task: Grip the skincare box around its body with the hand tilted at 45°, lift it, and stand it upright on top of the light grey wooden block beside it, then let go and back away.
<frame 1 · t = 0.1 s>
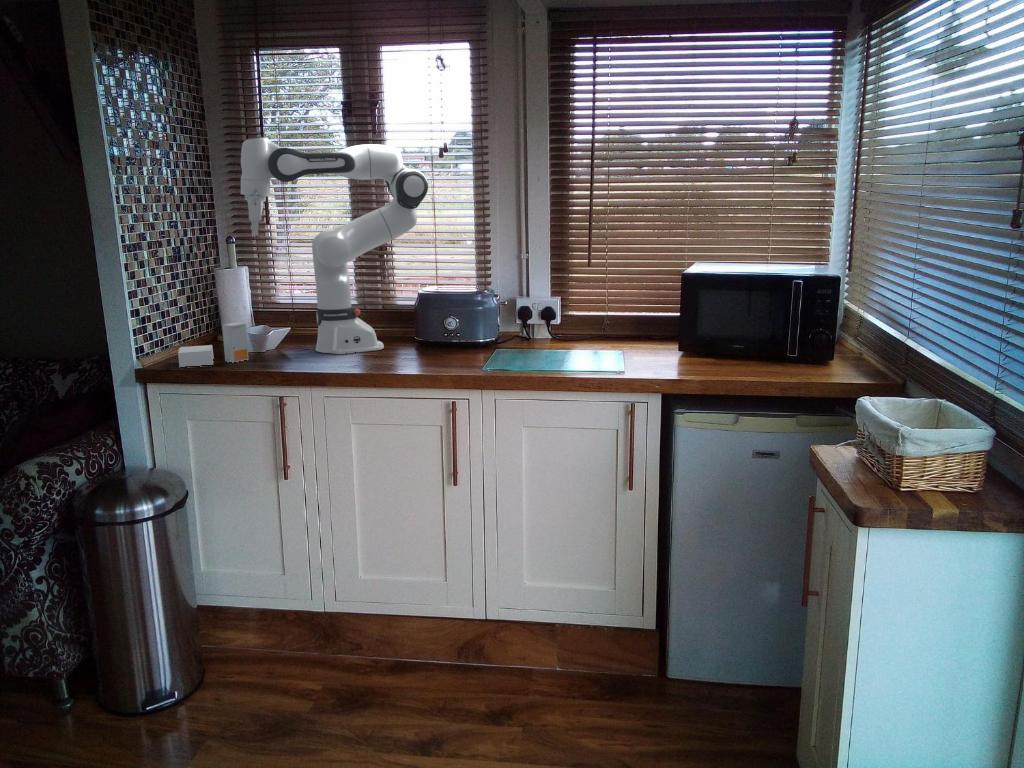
hand: (255, 234, 263), 39 cm above the countertop, tool pointing down, fingers open, 8 cm apart
skincare box: (237, 361, 263), on the countertop
grey block: (197, 364, 261), on the countertop
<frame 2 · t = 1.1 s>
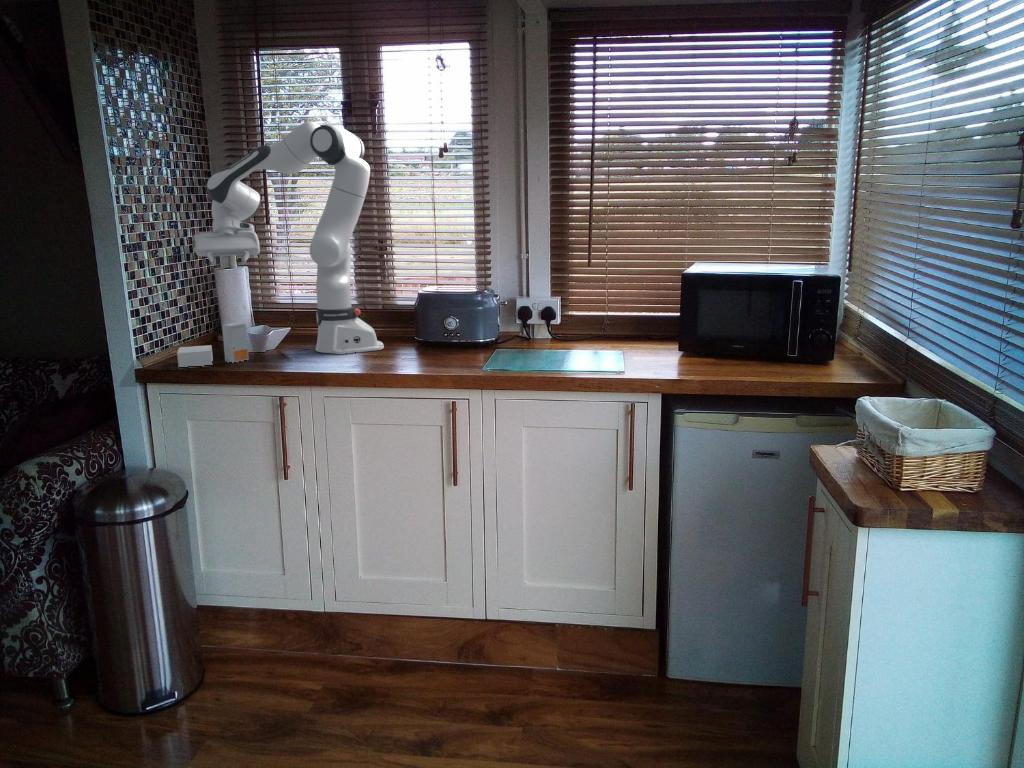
hand: (229, 263, 271), 29 cm above the countertop, tool tilted 45°, fingers open, 8 cm apart
nothing on the countertop moved.
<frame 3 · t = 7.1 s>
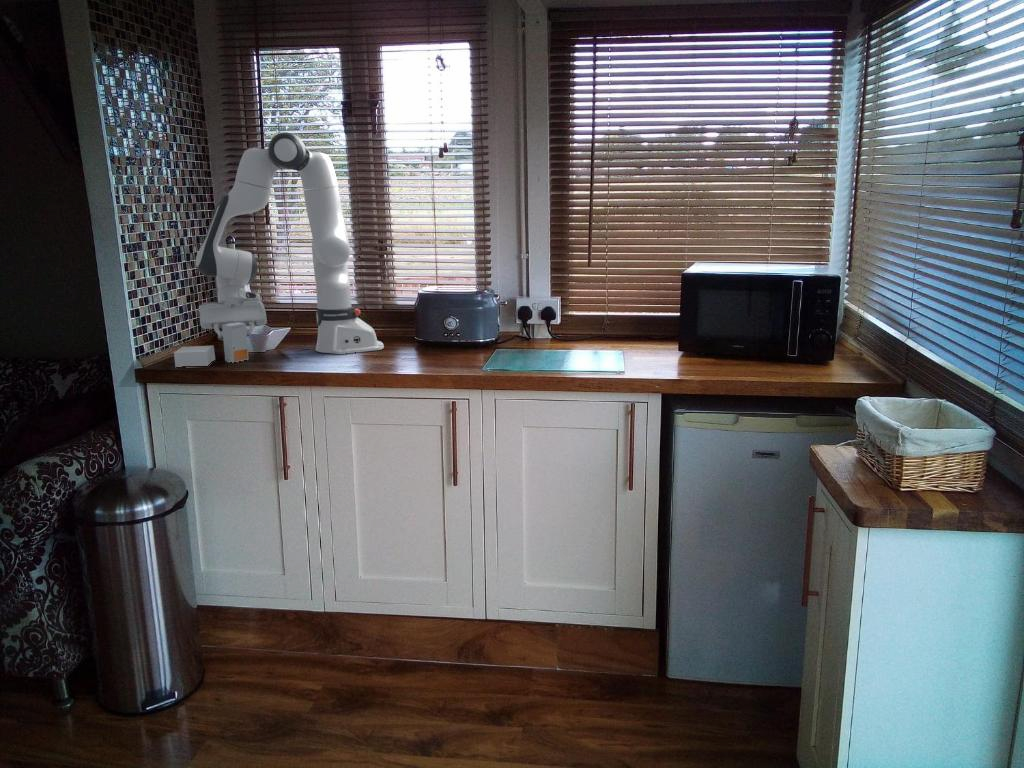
hand: (235, 336, 262), 8 cm above the countertop, tool tilted 45°, fingers closed on skincare box, 7 cm apart
skincare box: (237, 361, 263), on the countertop, touching gripper
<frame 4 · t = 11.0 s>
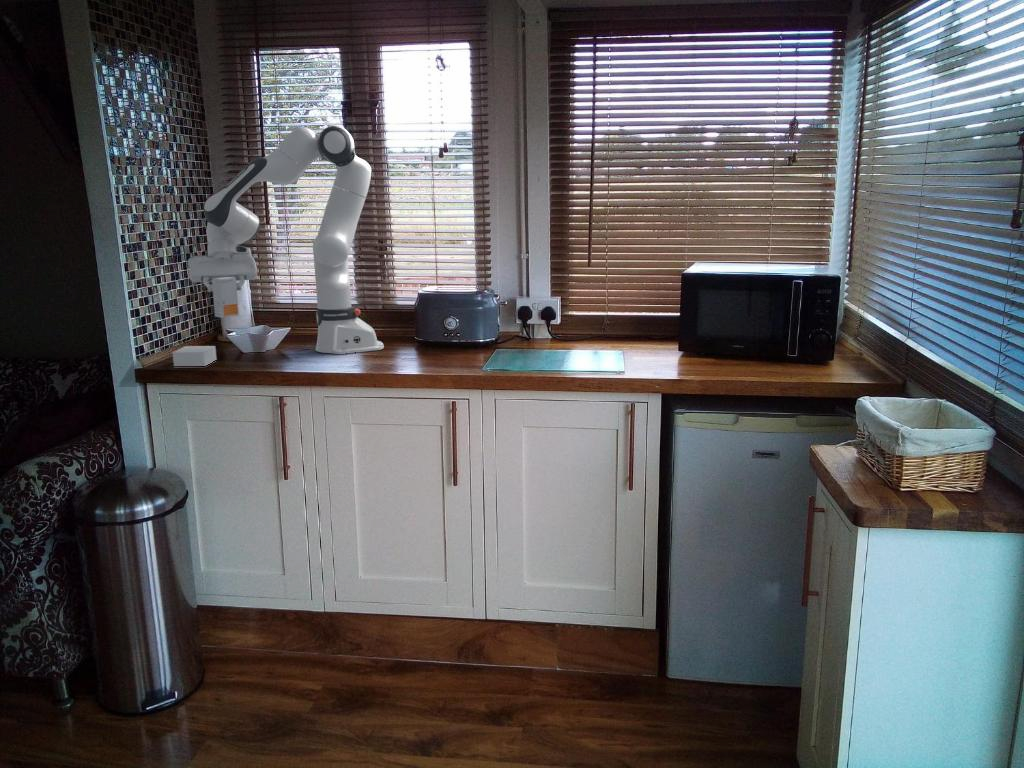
hand: (224, 289, 258), 23 cm above the countertop, tool tilted 45°, fingers closed on skincare box, 7 cm apart
skincare box: (227, 316, 260), point 14 cm above the countertop, touching gripper
when the fingers open (14 cm above the countertop, at t = 15.1 s): skincare box drops 1 cm, resting on grey block.
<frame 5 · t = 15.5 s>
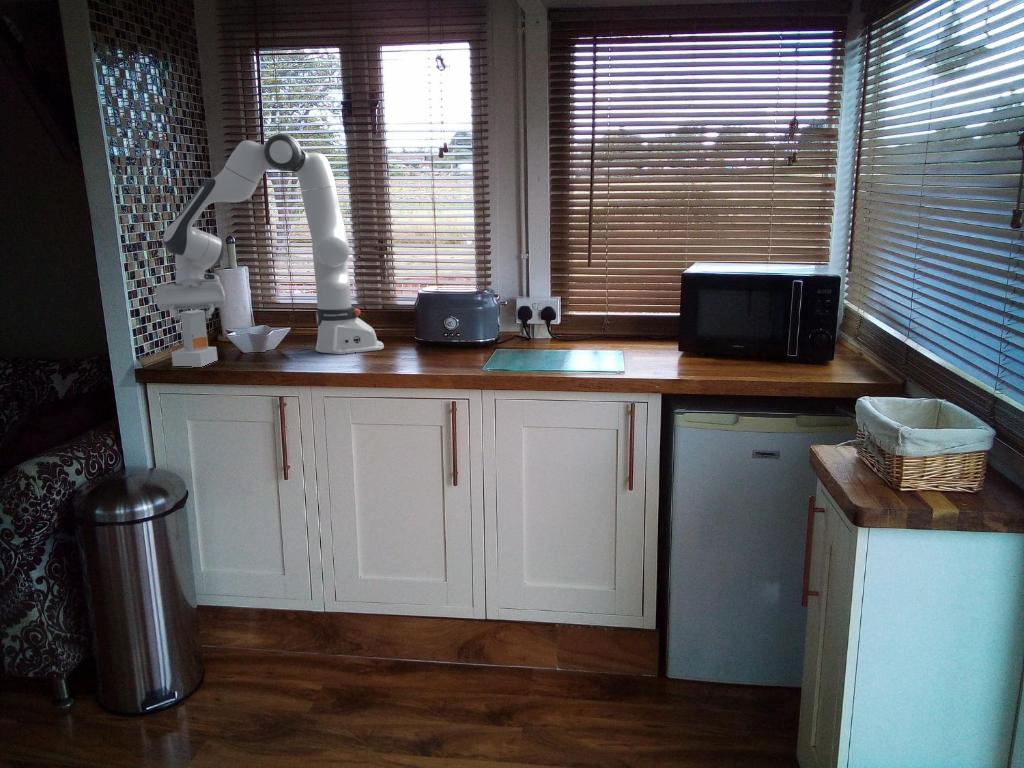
hand: (192, 318, 258), 14 cm above the countertop, tool tilted 45°, fingers open, 8 cm apart
skincare box: (196, 349, 260), point 4 cm above the countertop, touching grey block
grey block: (195, 365, 260), on the countertop, touching skincare box
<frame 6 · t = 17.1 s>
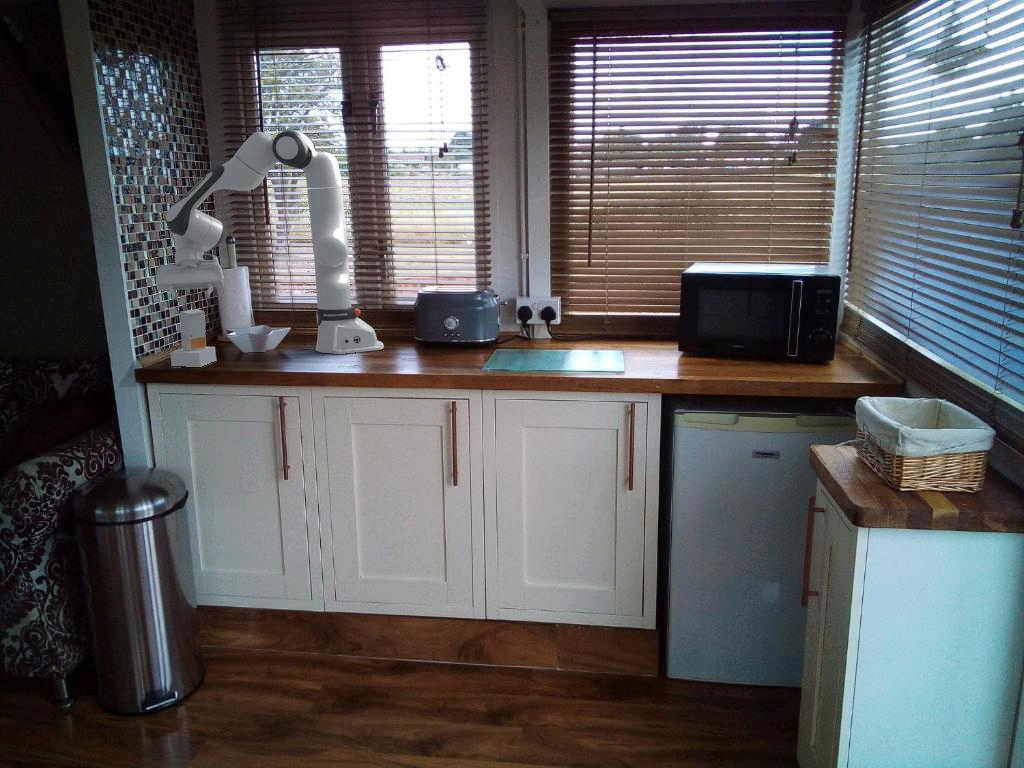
hand: (191, 297, 261), 20 cm above the countertop, tool tilted 45°, fingers open, 8 cm apart
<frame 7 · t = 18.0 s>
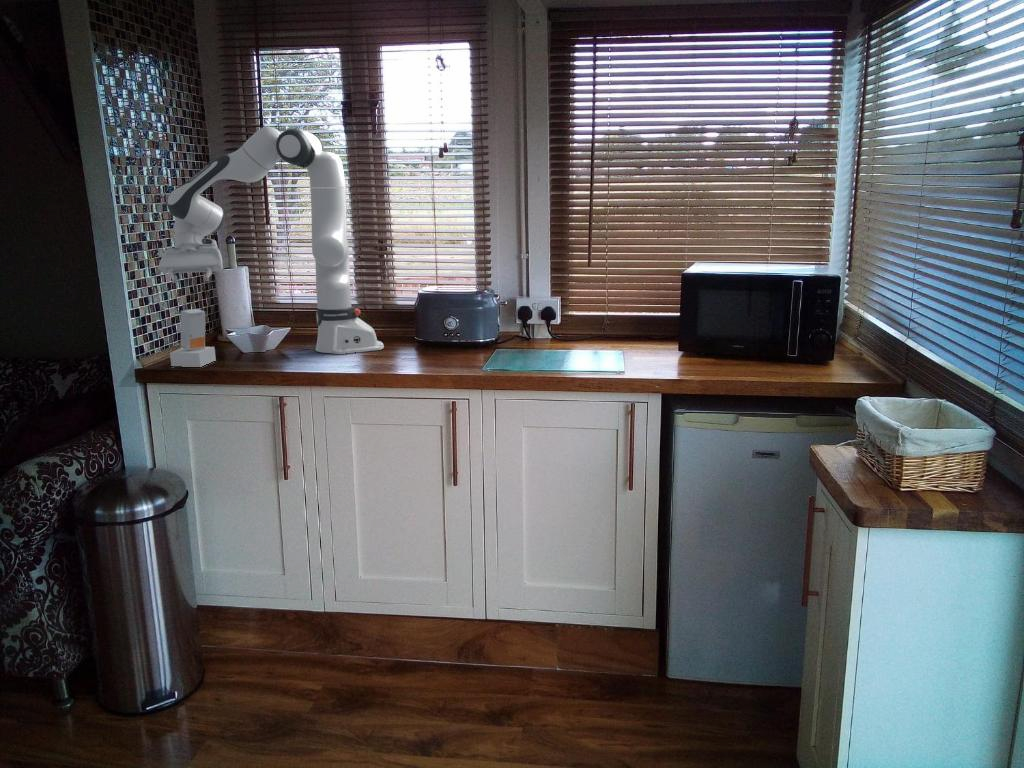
hand: (190, 280, 265), 25 cm above the countertop, tool tilted 45°, fingers open, 8 cm apart
nothing on the countertop moved.
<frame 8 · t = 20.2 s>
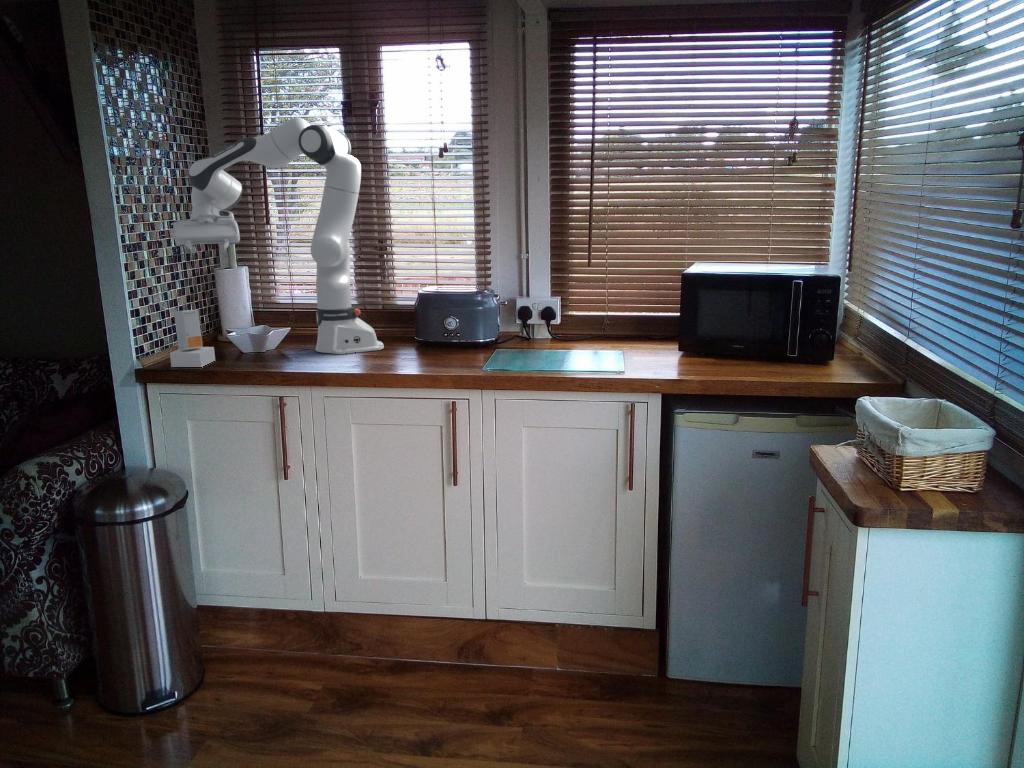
hand: (208, 251, 269), 33 cm above the countertop, tool tilted 45°, fingers open, 8 cm apart
skincare box: (191, 349, 258), point 5 cm above the countertop
grey block: (193, 365, 260), on the countertop
at the end: skincare box inside the target area on the grey block (0.2 cm from its centre), point 5.1 cm above the grey block's base; skincare box tilted 5°; the gripper is holding nothing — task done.
